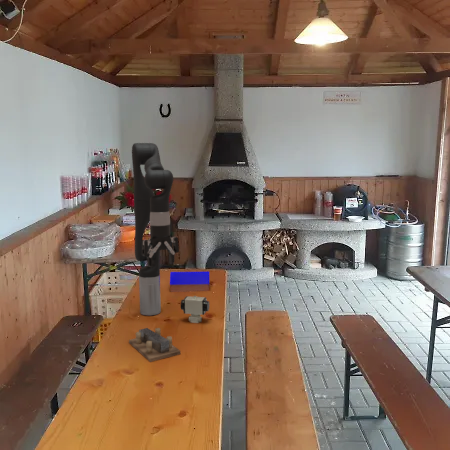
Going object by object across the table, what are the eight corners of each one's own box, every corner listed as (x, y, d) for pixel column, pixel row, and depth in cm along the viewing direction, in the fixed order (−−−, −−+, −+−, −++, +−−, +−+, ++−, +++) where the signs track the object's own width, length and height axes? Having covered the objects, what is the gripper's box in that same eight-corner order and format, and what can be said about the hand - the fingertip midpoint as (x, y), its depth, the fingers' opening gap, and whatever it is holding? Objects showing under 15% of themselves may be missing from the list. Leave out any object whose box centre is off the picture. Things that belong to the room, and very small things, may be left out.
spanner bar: (139, 339, 184) (139, 329, 184) (147, 337, 186) (147, 327, 186) (161, 353, 172) (160, 342, 171) (169, 350, 174) (169, 340, 173)
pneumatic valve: (207, 325, 202) (206, 298, 200) (180, 323, 204) (180, 296, 203) (210, 321, 207) (210, 294, 206) (184, 319, 210) (183, 292, 208)
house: (171, 290, 254) (171, 269, 252) (209, 289, 254) (209, 268, 252) (170, 297, 242) (169, 275, 240) (209, 296, 242) (209, 274, 241)
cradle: (128, 342, 184) (128, 330, 184) (157, 336, 191) (157, 323, 190) (150, 361, 168) (149, 347, 167) (180, 354, 174) (180, 340, 173)
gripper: (172, 220, 186) (173, 261, 189) (138, 223, 179) (139, 265, 181) (181, 223, 180) (182, 264, 182) (146, 226, 172) (147, 270, 175)
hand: (161, 265), depth 182 cm, fingers open, 8 cm apart
